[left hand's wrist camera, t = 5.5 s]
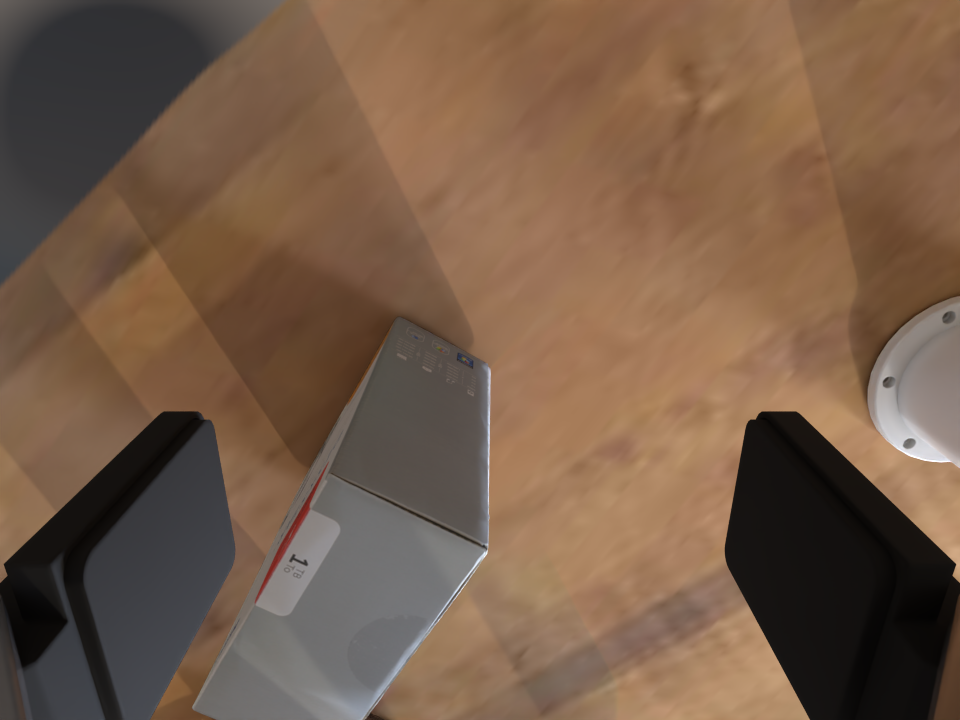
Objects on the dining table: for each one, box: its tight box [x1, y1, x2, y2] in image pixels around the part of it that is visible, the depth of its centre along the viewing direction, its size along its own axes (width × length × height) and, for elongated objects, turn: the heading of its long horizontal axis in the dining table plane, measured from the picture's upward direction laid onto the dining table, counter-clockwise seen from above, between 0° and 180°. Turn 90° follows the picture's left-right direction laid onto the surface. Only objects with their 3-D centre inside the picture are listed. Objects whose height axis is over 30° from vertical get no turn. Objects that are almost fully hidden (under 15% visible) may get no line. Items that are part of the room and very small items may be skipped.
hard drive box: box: [192, 317, 490, 720], centre depth 37 cm, size 16×8×20 cm, turn 149°
